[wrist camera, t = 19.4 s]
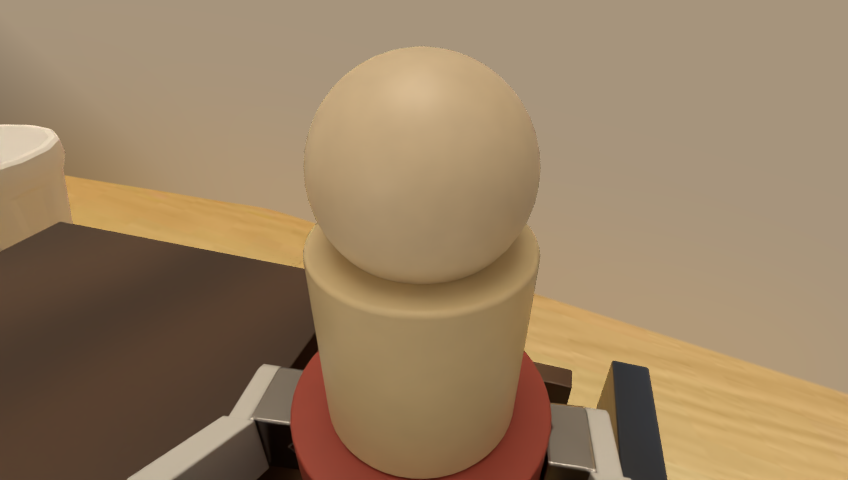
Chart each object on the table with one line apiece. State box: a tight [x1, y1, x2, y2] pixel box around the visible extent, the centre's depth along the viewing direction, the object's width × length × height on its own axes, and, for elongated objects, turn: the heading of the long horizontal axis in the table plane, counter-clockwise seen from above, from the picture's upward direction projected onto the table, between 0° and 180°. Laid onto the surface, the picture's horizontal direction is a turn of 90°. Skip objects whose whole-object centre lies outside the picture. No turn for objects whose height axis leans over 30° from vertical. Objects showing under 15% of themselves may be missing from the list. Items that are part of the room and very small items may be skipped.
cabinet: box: [0, 222, 318, 480], centre depth 16 cm, size 16×14×8 cm
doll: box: [290, 46, 552, 480], centre depth 10 cm, size 6×6×15 cm
